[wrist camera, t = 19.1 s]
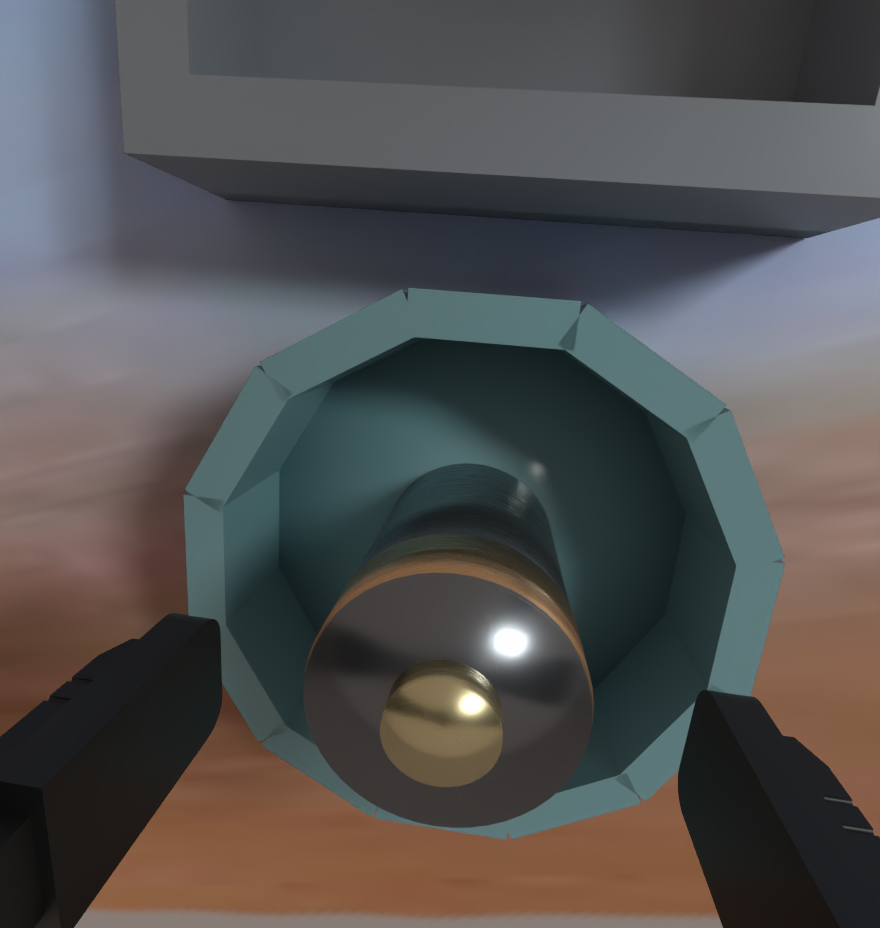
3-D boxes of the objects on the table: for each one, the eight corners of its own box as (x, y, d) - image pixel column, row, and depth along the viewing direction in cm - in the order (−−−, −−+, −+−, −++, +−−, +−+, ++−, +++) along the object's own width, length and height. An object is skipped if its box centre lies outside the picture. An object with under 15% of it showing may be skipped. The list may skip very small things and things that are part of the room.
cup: (260, 283, 16) (173, 269, 12) (749, 322, 15) (848, 321, 11) (262, 688, 20) (196, 789, 16) (657, 745, 19) (704, 871, 14)
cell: (388, 454, 16) (286, 576, 8) (564, 469, 16) (625, 612, 8) (382, 609, 17) (288, 837, 10) (543, 627, 17) (580, 881, 9)
